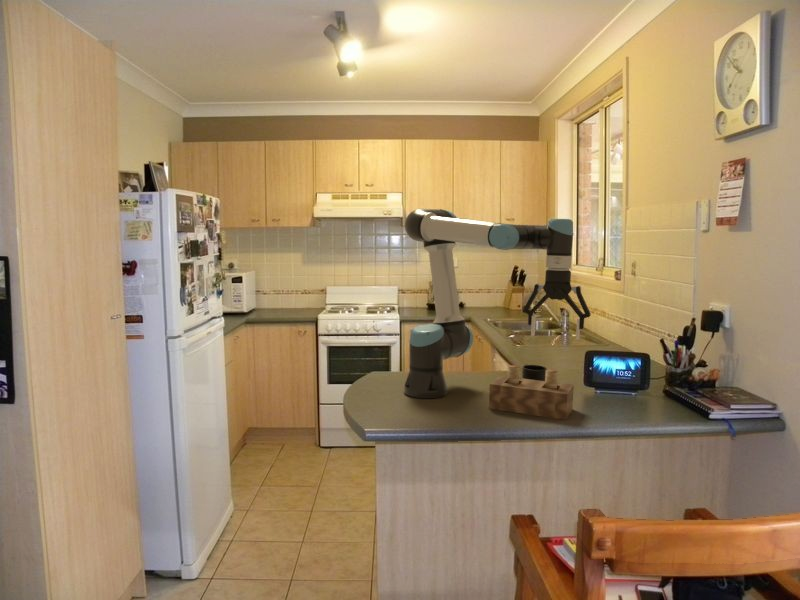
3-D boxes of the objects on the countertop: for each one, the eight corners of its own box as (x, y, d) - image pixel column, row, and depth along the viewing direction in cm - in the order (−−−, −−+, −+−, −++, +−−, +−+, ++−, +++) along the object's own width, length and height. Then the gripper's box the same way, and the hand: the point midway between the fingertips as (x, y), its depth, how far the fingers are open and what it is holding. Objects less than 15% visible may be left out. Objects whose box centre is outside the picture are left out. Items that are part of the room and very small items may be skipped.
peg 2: (543, 395, 175) (544, 371, 174) (545, 392, 178) (547, 369, 178) (555, 396, 174) (556, 373, 173) (557, 393, 177) (558, 370, 176)
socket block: (489, 408, 179) (489, 384, 178) (499, 398, 190) (500, 375, 189) (566, 420, 169) (567, 394, 168) (572, 409, 180) (573, 384, 179)
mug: (536, 387, 204) (537, 362, 203) (549, 397, 193) (550, 370, 192) (514, 388, 203) (515, 362, 202) (526, 397, 192) (527, 370, 190)
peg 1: (505, 390, 180) (506, 367, 180) (508, 387, 184) (509, 365, 183) (517, 391, 179) (517, 368, 178) (519, 388, 182) (520, 366, 181)
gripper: (515, 268, 174) (512, 335, 176) (600, 271, 164) (596, 343, 167) (520, 267, 181) (517, 332, 183) (602, 270, 171) (597, 339, 173)
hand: (554, 337), depth 175 cm, fingers open, 13 cm apart
